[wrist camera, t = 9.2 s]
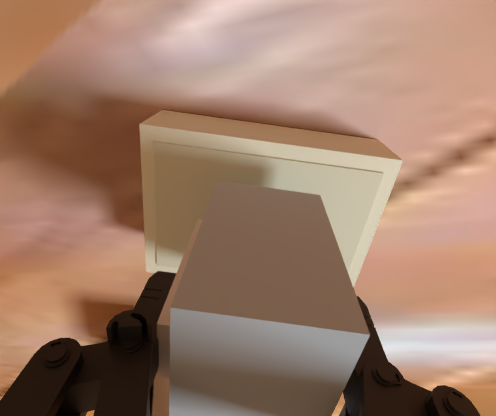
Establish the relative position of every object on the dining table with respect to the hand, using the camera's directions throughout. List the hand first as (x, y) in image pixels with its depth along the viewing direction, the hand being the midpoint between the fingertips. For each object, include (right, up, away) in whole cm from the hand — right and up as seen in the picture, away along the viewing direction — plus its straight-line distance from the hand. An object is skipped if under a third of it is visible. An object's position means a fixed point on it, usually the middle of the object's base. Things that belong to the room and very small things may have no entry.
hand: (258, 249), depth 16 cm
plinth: (0, +3, +6) cm, 7 cm away
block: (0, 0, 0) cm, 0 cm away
